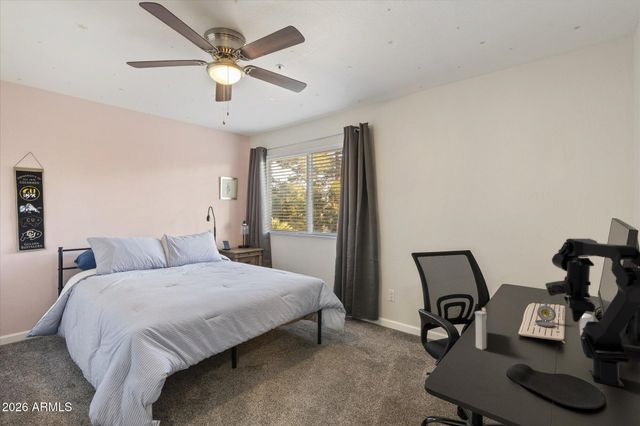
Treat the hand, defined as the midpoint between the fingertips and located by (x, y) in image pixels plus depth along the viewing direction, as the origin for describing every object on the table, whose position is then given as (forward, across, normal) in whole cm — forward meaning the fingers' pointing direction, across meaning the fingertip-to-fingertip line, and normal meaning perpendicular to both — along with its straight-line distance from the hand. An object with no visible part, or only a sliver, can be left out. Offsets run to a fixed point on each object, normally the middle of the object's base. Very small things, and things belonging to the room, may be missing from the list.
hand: (575, 321), depth 103 cm
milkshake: (+14, -22, +7) cm, 27 cm away
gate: (+12, 0, -27) cm, 29 cm away
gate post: (+12, +9, -27) cm, 31 cm away
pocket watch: (+15, -30, -5) cm, 34 cm away
